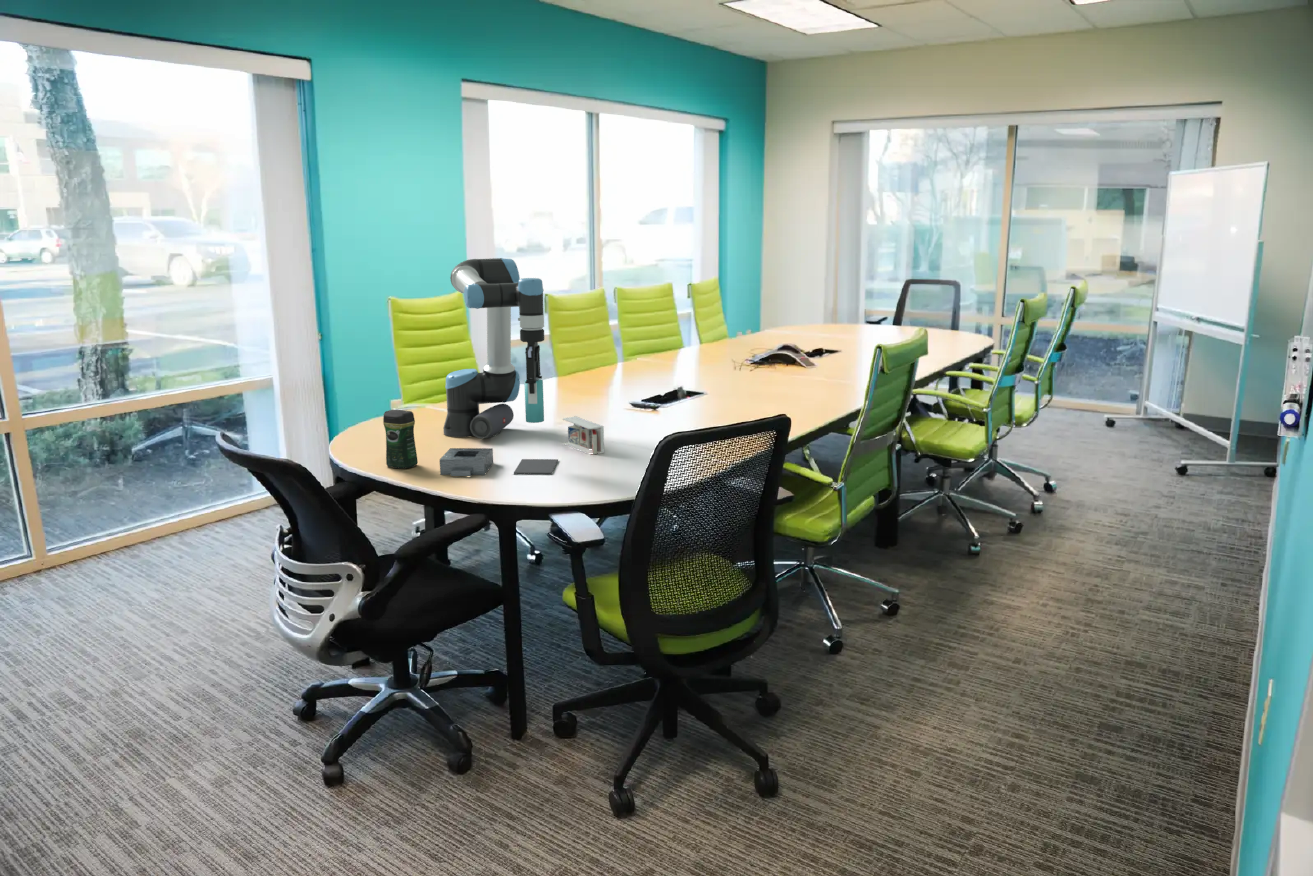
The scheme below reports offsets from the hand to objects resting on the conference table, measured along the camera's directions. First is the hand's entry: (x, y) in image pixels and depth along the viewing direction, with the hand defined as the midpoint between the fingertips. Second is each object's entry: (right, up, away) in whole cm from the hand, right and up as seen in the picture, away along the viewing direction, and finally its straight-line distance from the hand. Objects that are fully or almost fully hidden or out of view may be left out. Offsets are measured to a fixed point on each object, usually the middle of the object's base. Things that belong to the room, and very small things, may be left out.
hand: (534, 401), depth 294 cm
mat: (0, -21, +5) cm, 22 cm away
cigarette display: (+13, -16, +29) cm, 36 cm away
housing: (-22, -22, +4) cm, 31 cm away
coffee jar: (-44, -21, +7) cm, 49 cm away
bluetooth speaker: (-22, -11, +49) cm, 54 cm away
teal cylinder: (0, -6, +2) cm, 6 cm away
